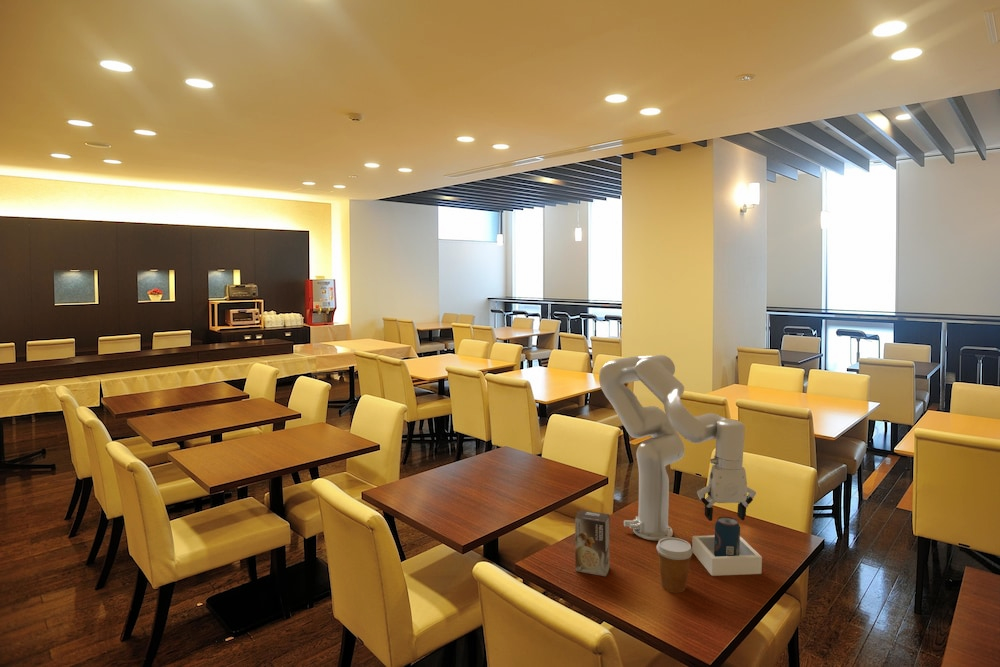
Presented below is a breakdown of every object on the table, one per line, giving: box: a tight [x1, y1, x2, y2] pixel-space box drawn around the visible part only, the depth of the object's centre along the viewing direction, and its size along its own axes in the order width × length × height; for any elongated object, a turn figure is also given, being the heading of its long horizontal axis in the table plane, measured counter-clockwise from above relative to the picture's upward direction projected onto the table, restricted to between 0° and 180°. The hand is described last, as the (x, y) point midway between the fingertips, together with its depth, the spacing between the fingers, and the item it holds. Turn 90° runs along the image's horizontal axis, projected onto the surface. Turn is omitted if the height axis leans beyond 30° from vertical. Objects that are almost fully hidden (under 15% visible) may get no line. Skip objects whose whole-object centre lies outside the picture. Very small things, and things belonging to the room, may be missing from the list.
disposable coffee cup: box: [656, 536, 694, 593], centre depth 159 cm, size 10×10×12 cm
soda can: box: [714, 516, 741, 557], centre depth 173 cm, size 7×7×12 cm
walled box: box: [691, 534, 763, 577], centre depth 173 cm, size 14×14×5 cm
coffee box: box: [574, 509, 610, 577], centre depth 169 cm, size 9×6×16 cm
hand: (724, 518), depth 172 cm, fingers open, 9 cm apart
